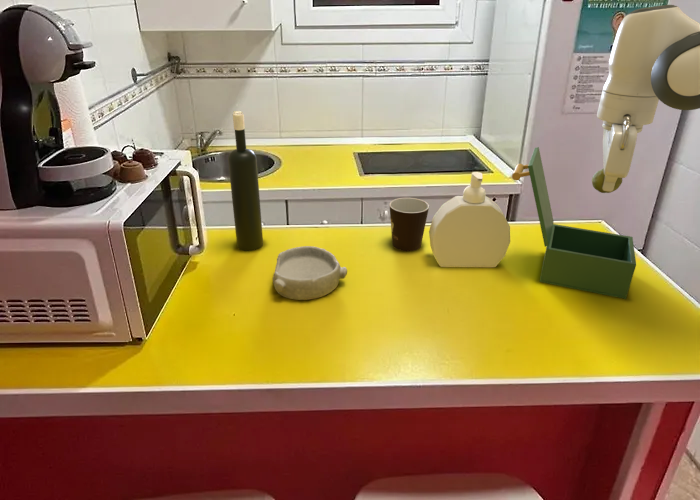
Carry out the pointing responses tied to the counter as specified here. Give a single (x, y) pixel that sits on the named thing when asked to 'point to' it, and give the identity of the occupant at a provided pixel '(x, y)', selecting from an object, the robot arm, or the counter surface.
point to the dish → (307, 273)
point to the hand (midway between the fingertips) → (607, 185)
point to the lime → (599, 179)
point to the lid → (538, 192)
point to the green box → (589, 261)
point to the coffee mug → (408, 222)
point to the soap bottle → (469, 229)
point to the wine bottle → (245, 190)
